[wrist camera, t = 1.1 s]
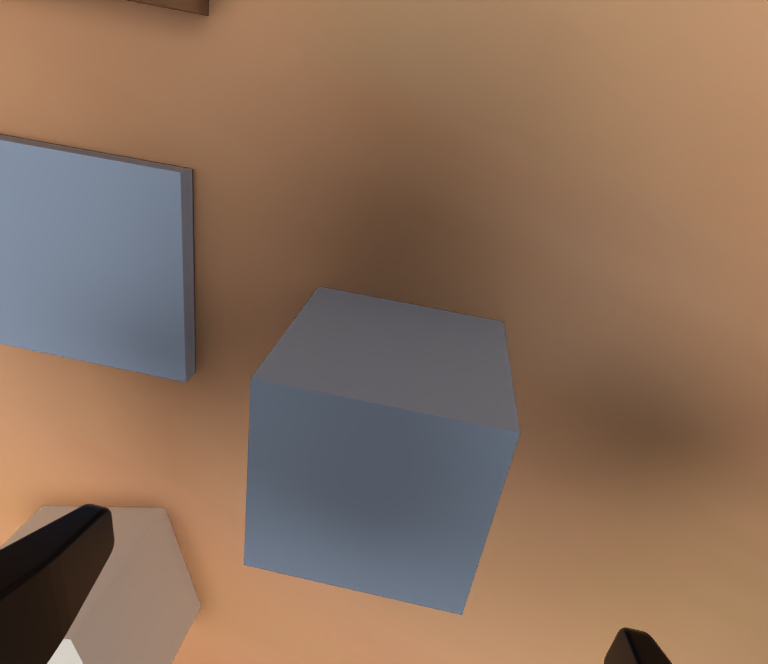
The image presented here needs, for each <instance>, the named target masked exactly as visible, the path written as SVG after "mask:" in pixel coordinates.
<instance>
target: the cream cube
mask: <svg viewBox="0 0 768 664" xmlns="http://www.w3.org/2000/svg"><path fill="white" fill-rule="evenodd" d="M79 507H81V506H42V507H41V508H40V509H39V510H38V511H37V512H36V513H35V514H34V515H33V516H32V517H31V518H30V519H29V520H28V521H27V522H25V523H24V524H23V525H22V526H21V527H20V528H19V529H18V530H17V531H16V532H15V533H14V534H13V535H12V536H11V537H10V538H9V539H8V540H7V541H6V542H5V543H4V544H3V545H2V546H1V547H0V549H2V548H4V547H6V546H8V545H10V544H11V543H13V542H15V541H17V540H19V539H21V538H23V537H25V536H26V535H28V534H30V533H32V532H34V531H36V530H38V529H40V528H41V527H43V526H45V525H47V524H49V523H51V522H53V521H54V520H56V519H58V518H60V517H62V516H64V515H66V514H68V513H69V512H71V511H73V510H75V509H77V508H79ZM106 508H109V510H110V511H111V513H112V521H113V530H114V538H115V542H114V547H113V550H112V553H111V555H110V557H109V559H108V560H107V562H106V564H105V566H104V568H103V569H102V571H101V573H100V575H99V577H98V578H97V580H96V582H95V584H94V586H93V587H92V589H91V591H90V593H89V595H88V597H87V598H86V600H85V602H84V604H83V606H82V607H81V609H80V611H79V613H78V615H77V616H76V618H75V620H74V622H73V624H72V625H71V627H70V629H69V630H68V632H67V634H66V636H65V637H64V639H63V641H62V642H61V644H60V645H59V647H58V648H57V650H56V651H55V653H54V654H53V656H52V657H51V659H50V660H49V662H48V663H47V664H172V662H173V660H174V658H175V656H176V654H177V652H178V650H179V648H180V646H181V644H182V642H183V640H184V638H185V636H186V635H187V633H188V631H189V629H190V627H191V625H192V623H193V621H194V619H195V617H196V615H197V613H198V611H199V609H200V607H201V605H200V602H199V599H198V596H197V594H196V591H195V588H194V586H193V583H192V580H191V577H190V575H189V572H188V569H187V567H186V564H185V561H184V558H183V556H182V553H181V550H180V548H179V545H178V542H177V539H176V537H175V534H174V531H173V529H172V526H171V523H170V520H169V518H168V515H167V512H166V510H165V508H137V507H106Z"/></svg>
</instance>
